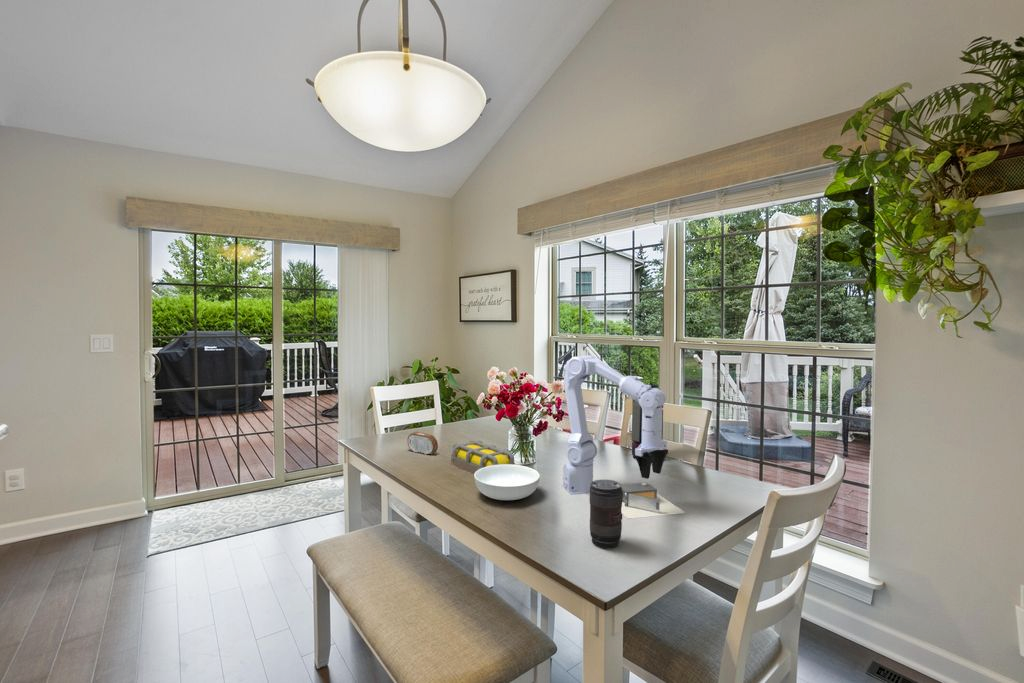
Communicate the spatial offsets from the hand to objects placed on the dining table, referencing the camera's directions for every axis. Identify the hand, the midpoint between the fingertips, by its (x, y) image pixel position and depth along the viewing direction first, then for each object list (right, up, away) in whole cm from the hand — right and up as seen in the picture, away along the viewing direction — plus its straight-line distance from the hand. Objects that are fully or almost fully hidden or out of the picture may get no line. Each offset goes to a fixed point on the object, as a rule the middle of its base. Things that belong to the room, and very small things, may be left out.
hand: (651, 475), depth 142 cm
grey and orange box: (-3, -9, +6) cm, 11 cm away
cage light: (-52, -8, +38) cm, 65 cm away
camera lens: (-18, -11, -21) cm, 30 cm away
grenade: (+13, -8, +51) cm, 53 cm away
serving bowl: (-43, -10, +11) cm, 45 cm away
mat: (-2, -10, +2) cm, 10 cm away
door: (-3, -10, -1) cm, 10 cm away
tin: (-79, -7, +58) cm, 98 cm away
